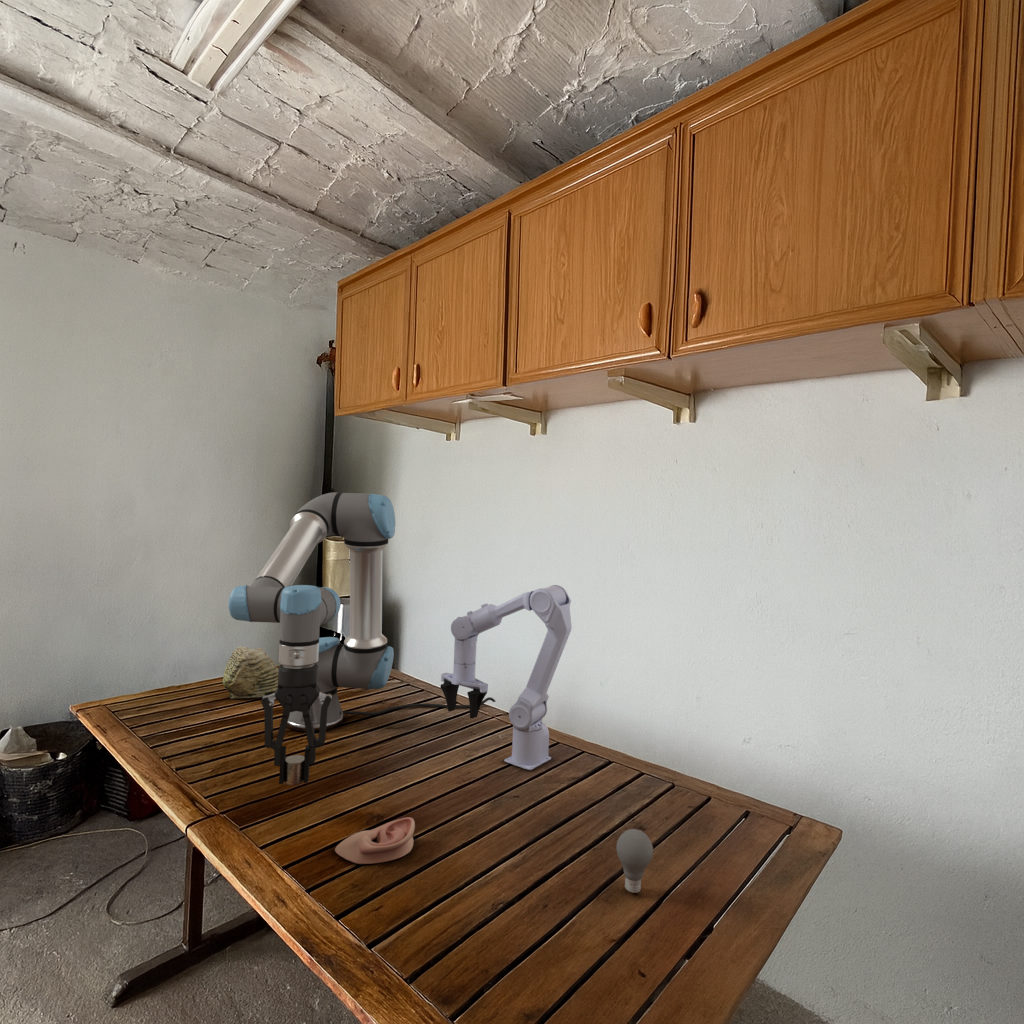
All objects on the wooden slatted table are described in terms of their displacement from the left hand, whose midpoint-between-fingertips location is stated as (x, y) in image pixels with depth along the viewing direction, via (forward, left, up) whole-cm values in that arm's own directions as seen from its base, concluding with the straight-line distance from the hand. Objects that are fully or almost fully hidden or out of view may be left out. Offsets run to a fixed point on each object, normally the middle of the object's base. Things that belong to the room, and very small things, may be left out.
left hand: (294, 780), depth 126 cm
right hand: (-49, 0, +2) cm, 49 cm away
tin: (0, 0, 0) cm, 0 cm away
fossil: (-33, -73, -7) cm, 81 cm away
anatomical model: (-3, +22, -7) cm, 23 cm away
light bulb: (-24, +63, -7) cm, 68 cm away
